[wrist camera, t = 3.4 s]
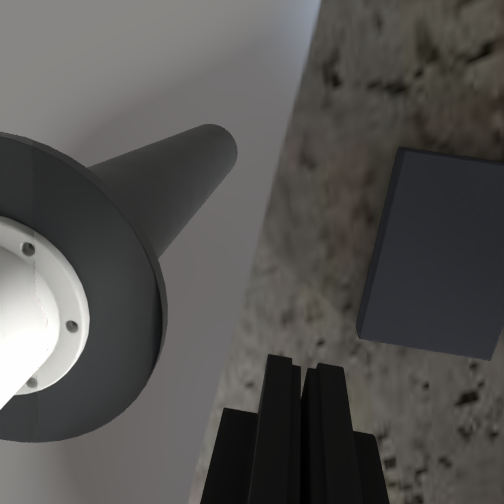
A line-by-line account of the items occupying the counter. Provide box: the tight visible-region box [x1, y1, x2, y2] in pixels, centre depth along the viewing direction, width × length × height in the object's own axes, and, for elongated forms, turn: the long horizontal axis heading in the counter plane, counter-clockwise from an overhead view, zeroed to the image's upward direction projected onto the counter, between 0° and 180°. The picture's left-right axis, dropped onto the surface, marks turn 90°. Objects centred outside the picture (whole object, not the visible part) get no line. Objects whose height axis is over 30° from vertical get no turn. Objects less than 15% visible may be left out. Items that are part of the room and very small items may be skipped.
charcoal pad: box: [356, 147, 504, 361], centre depth 24 cm, size 11×10×2 cm
